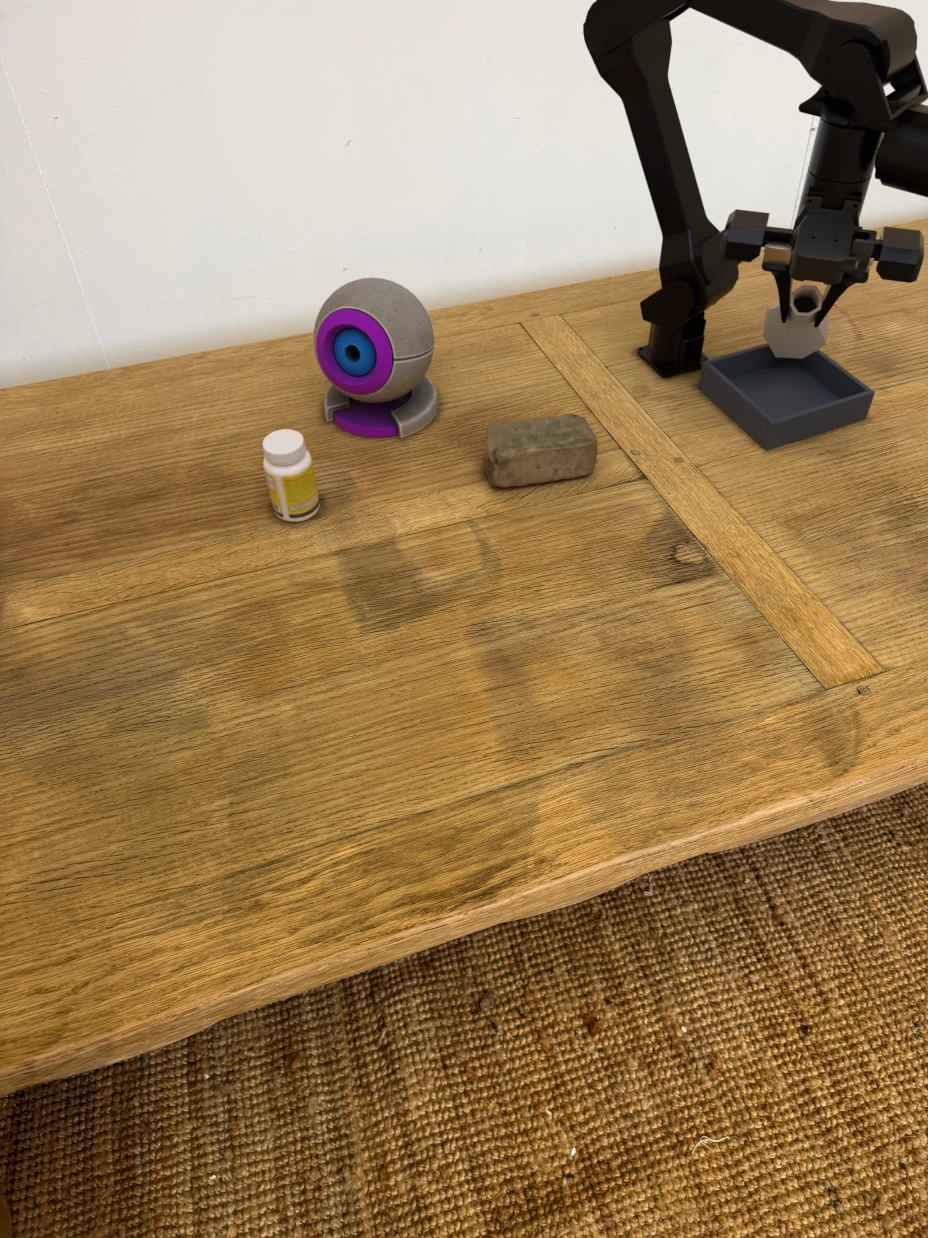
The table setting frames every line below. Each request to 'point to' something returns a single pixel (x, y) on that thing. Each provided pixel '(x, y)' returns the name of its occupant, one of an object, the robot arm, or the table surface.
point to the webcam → (376, 359)
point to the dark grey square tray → (784, 394)
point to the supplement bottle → (290, 476)
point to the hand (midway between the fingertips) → (799, 323)
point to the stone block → (539, 450)
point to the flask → (797, 325)
